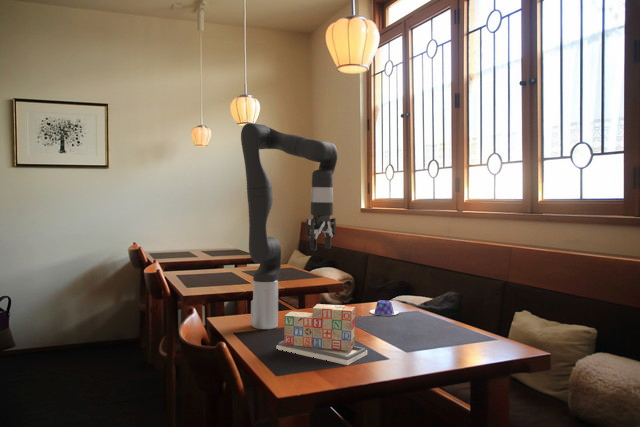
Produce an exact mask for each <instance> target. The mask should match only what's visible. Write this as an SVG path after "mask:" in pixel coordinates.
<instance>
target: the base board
mask: <svg viewBox="0 0 640 427" xmlns="http://www.w3.org/2000/svg"><path fill="white" fill-rule="evenodd" d="M277 349H278V351H282V350H283V352H286V351H287V353H291V352H292V353H291V354H295V353H296V355H301V356H305V357H309V358H313V357H314V359H318V360H323V361H326V360H327V361H328V362H332V363H337V364H339V365H344V366H349V365H350V364H352V363H354V362H356V361H358V360H360V359H361V358H364V357H365V356H367V355H368V353H369V352H368V350H367V348H365V347H361V346H356V345H354V347H353V348H352V350H351V351H346V350H336V349H327V348H316V347H305V346H295V345H285V344H284V340H282V341H279V342H278V344H277V345H276V350H277Z"/></svg>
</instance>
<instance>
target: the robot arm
mask: <svg viewBox="0 0 640 427" xmlns="http://www.w3.org/2000/svg"><path fill="white" fill-rule="evenodd" d="M240 143H241V150H242V154H243V160H244V168H245V169H244V170H245V177H246V195H247V196H246V197H247V205H248V206H247V207H248V225H249V226H248V229H249V230H248V231H249V232H248V233H249V234H248V252H249V253H248V254H249V255H250V258H251V260H252V261H253V262H254V263H256V264H259V266H258V268H257V269H256V271H254V273H253V275H252V277H253V278H252V284H253V285H252V289H253V290H252V293H253V294H252V300H251V301H250V327H253V328H255V329H257V330H272V329H276V328H277V327H278V326H279V324H278V323H279V275H280V273H281V267H282V266H281V263H282V247H281V243H280V241H279V240H278V239H277V238H276V237H274V236H268V234H267V232H268V231H267V226H268V225H267V223H268V222H267V221H268V219H269V217H270V216H269V215H270V212H271V209H272V206H273V203H274V202H273V200H274V197H273V185H272V181H271V179H270V177H269V174H268V173H267V171H266V169H265V167H264V166H263V163H262V160H261V157H260V150H277V151H278V150H279V151H282V152H284V153H286V154H288V155H290V156H294V157H298V158H304V159H306V160H309V161H312V162H316V163H319V166H318V168H317V169H316V170H313V172H312V173H311V192H310V215H311V216H313V217H312V218H306V228H305V229H306V230H305V237H306V238H308V239H310V240H309V248H310V251H317V250H318V237H319V235H320V234H321V232H322V233H323V234H324V249H329V250H330V249H332V238H333V236H336V233H337V230H336V229H337V228H336V226H337V225H336V222H337V221H336V218H335V217H330V216H333V215H334V213H333V212H334V190H333V186H334V185H333V184H334V183H333V182H334V181H333V180H334V172H335V170H336V166H337V162H338V156H339V155H338V149H337V146H336V145H335V144H334V143H332V142H329V141H324V140H323V141H322V140H317V139H310V138H308V137H306V136H301V135H296V134H288V133H283V132H280V131H278V130H275V129H273V128H272V127H269V126H267V125H265V124H258V123H254V122H247V123H245V124H244V125H243V127H242V128H241V131H240Z"/></svg>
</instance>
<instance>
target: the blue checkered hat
mask: <svg viewBox="0 0 640 427" xmlns="http://www.w3.org/2000/svg"><path fill="white" fill-rule="evenodd" d="M369 313H370V314H373V315H377V316H382V317H383V316H385V317H386V316H387V317H389V316H396V315H397V314H399V311H398V310H395V309H394V308H393V304H392V302H391V301H390V300H378V301H377V302H376V305H375V308H374V309H370V310H369Z"/></svg>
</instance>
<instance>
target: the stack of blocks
mask: <svg viewBox="0 0 640 427" xmlns="http://www.w3.org/2000/svg"><path fill="white" fill-rule="evenodd" d="M283 318H284V320H283V322H284V323H283V324H284V327H283V328H284V330H283V331H284V336H283V338H284V340H283V341H284V344H285V345H295V346H305V347H316V348H327V349H336V350H346V351H351V350H352V348H353V347H354V346H355V339H356V338H355V333H356V306H348V305H342V304H325V303H323V304H321V303H317V304H316V305H315V306H313V307H312V312H305V311H304V312H303V311H289V312H288V313H286V314H285V315H284V317H283Z"/></svg>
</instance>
